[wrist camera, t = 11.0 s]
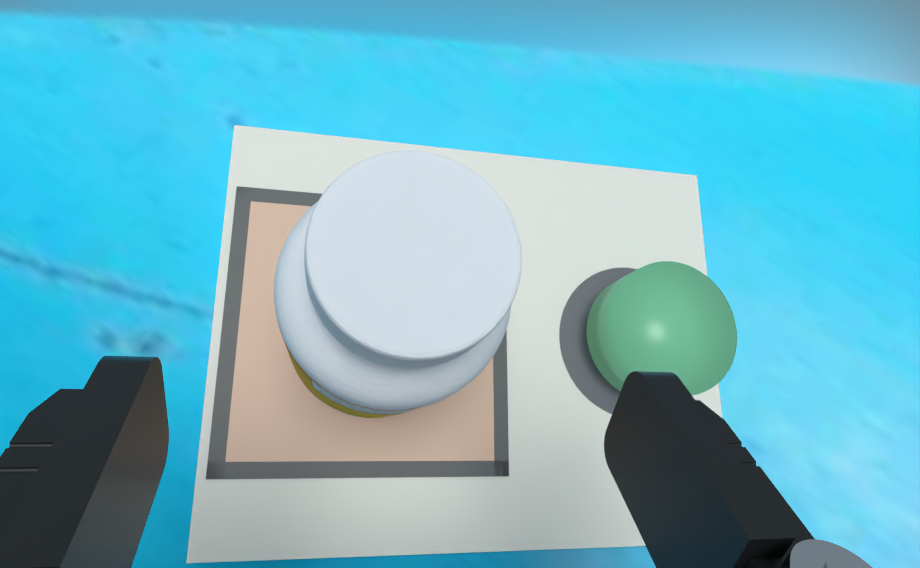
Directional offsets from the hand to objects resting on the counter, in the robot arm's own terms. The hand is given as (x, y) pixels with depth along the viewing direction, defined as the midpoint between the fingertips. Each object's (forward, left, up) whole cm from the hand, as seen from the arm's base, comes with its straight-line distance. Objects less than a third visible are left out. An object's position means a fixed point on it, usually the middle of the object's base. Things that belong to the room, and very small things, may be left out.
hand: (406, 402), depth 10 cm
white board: (+4, +3, -10) cm, 11 cm away
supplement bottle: (0, +3, -9) cm, 10 cm away
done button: (+10, +3, -8) cm, 13 cm away
